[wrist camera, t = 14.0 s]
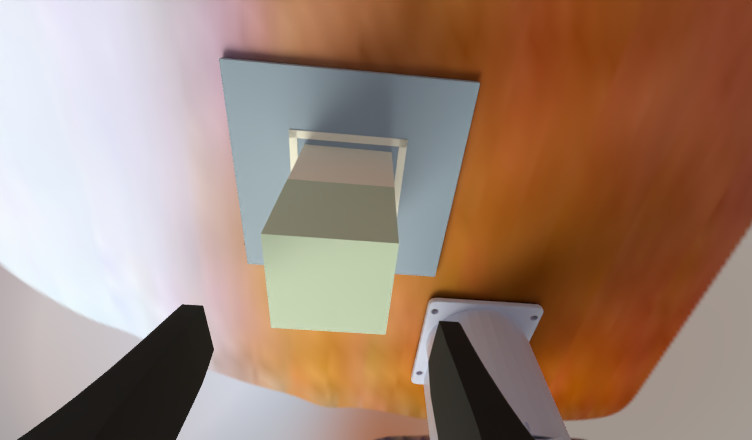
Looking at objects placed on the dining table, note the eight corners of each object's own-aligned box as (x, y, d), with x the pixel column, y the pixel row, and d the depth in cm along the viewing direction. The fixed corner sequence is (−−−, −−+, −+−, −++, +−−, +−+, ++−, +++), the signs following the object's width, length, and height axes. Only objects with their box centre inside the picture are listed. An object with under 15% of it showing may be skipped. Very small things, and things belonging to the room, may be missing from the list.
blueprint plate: (434, 272, 23) (435, 277, 23) (249, 259, 23) (247, 264, 22) (478, 81, 17) (480, 83, 16) (222, 57, 16) (218, 58, 16)
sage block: (384, 268, 17) (385, 334, 14) (291, 262, 17) (271, 327, 14) (394, 187, 15) (399, 243, 12) (287, 179, 15) (260, 233, 11)
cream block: (382, 224, 21) (383, 268, 17) (305, 217, 21) (291, 261, 17) (391, 152, 18) (394, 187, 15) (304, 144, 18) (287, 178, 15)
